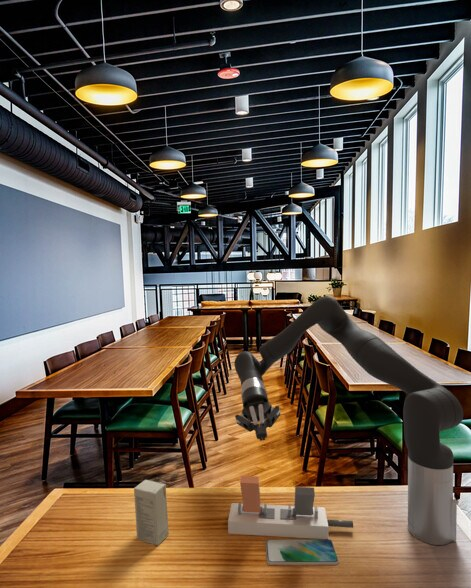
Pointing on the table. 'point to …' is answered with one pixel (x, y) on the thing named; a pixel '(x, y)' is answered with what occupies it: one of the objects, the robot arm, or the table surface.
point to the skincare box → (151, 511)
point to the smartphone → (301, 552)
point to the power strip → (282, 522)
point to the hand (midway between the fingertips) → (261, 437)
